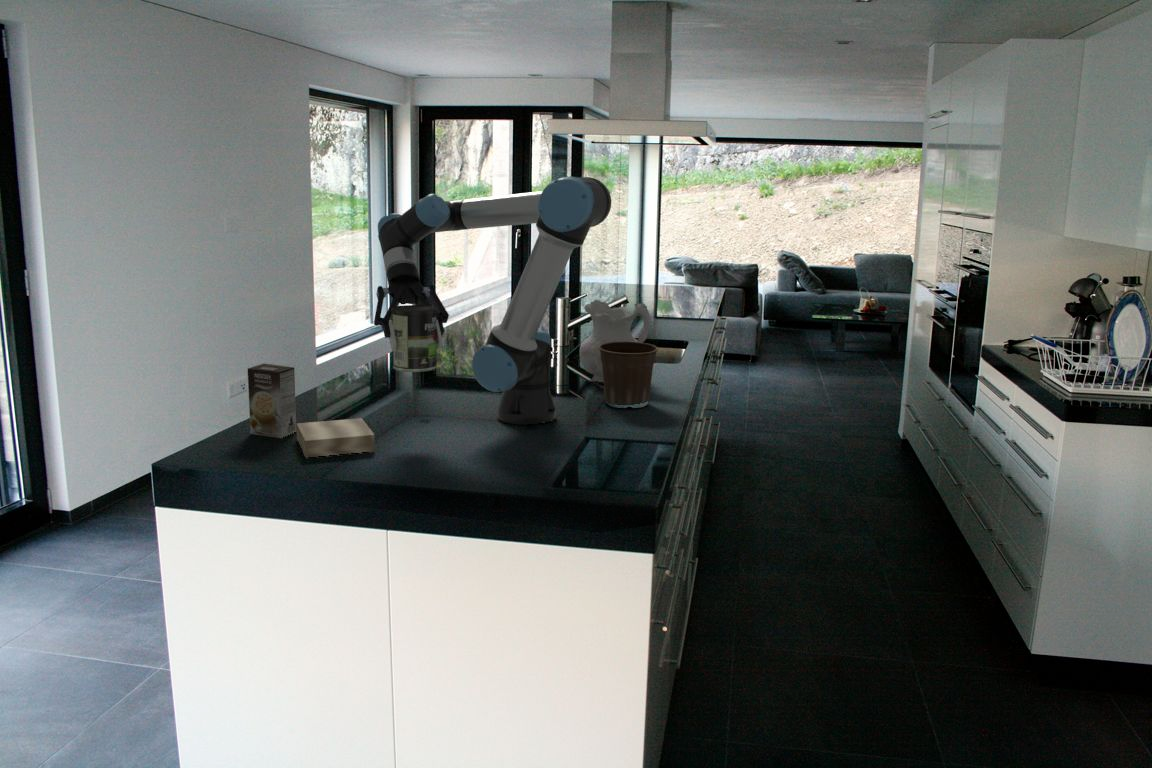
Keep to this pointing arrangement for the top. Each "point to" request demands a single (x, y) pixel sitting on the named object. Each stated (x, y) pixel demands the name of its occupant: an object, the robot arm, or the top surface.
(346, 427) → the oak base block
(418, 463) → the top surface
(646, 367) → the plant pot
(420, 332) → the coffee can
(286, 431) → the coffee box
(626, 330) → the ceramic pitcher
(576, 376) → the top surface
